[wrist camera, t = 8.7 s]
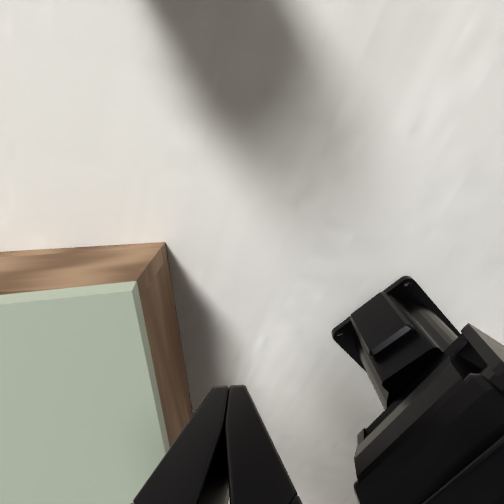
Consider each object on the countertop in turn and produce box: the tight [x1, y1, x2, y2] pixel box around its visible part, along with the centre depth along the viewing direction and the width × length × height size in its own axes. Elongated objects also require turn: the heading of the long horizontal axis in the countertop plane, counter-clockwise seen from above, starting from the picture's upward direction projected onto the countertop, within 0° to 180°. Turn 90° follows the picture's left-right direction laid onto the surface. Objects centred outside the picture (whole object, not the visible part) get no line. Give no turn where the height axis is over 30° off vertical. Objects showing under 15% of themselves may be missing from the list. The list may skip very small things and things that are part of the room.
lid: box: [0, 281, 170, 504], centre depth 17 cm, size 13×17×1 cm
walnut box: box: [0, 242, 193, 447], centre depth 21 cm, size 13×17×6 cm
